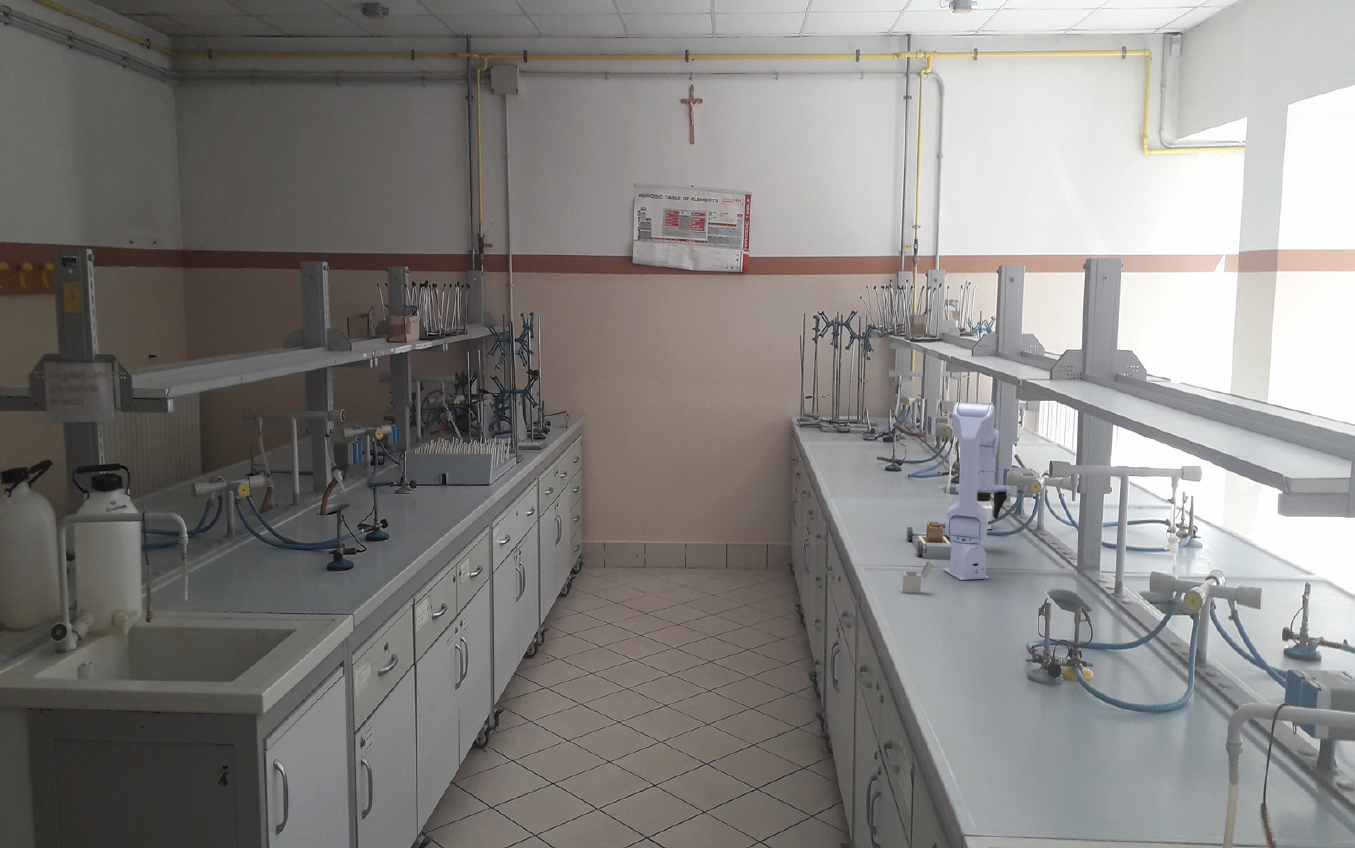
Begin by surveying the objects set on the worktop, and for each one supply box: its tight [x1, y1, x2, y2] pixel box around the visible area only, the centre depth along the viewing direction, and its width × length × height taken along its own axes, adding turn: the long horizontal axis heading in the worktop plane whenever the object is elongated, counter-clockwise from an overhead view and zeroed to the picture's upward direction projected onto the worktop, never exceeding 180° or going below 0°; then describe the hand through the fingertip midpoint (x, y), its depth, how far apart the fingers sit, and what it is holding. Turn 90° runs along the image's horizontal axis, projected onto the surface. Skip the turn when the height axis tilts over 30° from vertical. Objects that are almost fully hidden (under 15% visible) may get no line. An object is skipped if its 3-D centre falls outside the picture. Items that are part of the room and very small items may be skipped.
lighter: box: [901, 559, 935, 594], centre depth 232 cm, size 7×2×8 cm, turn 84°
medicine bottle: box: [977, 492, 994, 529], centre depth 298 cm, size 7×7×12 cm
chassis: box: [906, 526, 951, 560], centre depth 272 cm, size 22×12×4 cm, turn 176°
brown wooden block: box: [925, 521, 944, 543], centre depth 272 cm, size 4×4×6 cm
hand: (981, 517), depth 270 cm, fingers open, 7 cm apart
